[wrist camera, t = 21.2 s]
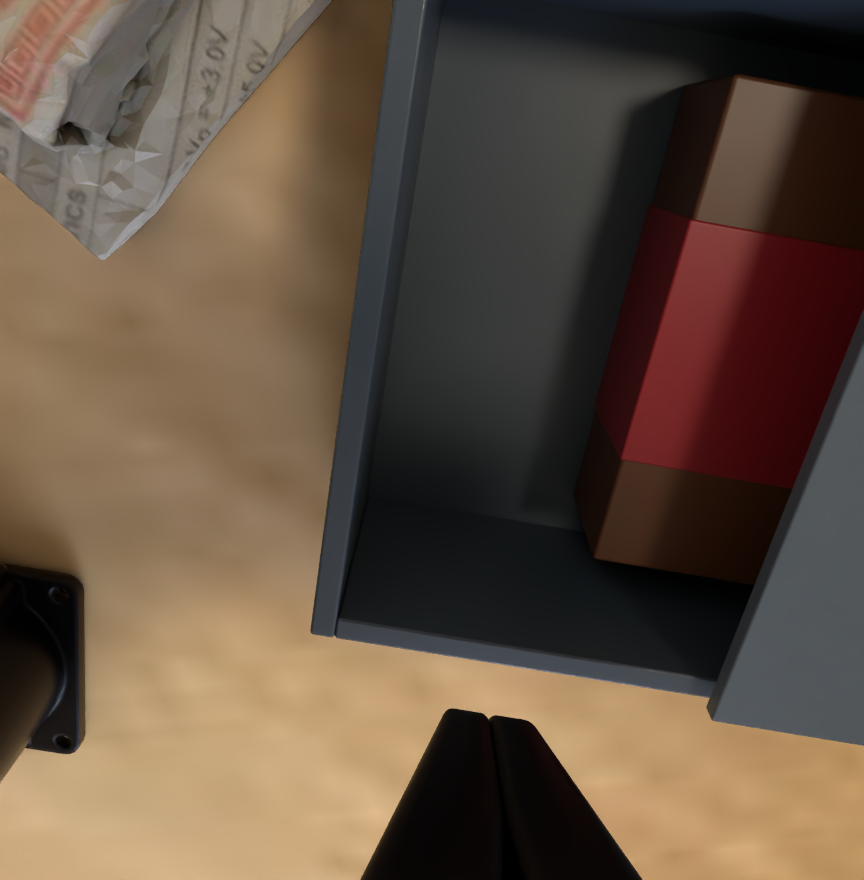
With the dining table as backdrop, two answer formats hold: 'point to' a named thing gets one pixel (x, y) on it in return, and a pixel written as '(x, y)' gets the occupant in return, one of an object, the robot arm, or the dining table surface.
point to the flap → (810, 590)
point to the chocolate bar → (728, 328)
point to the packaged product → (127, 98)
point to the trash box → (524, 325)
